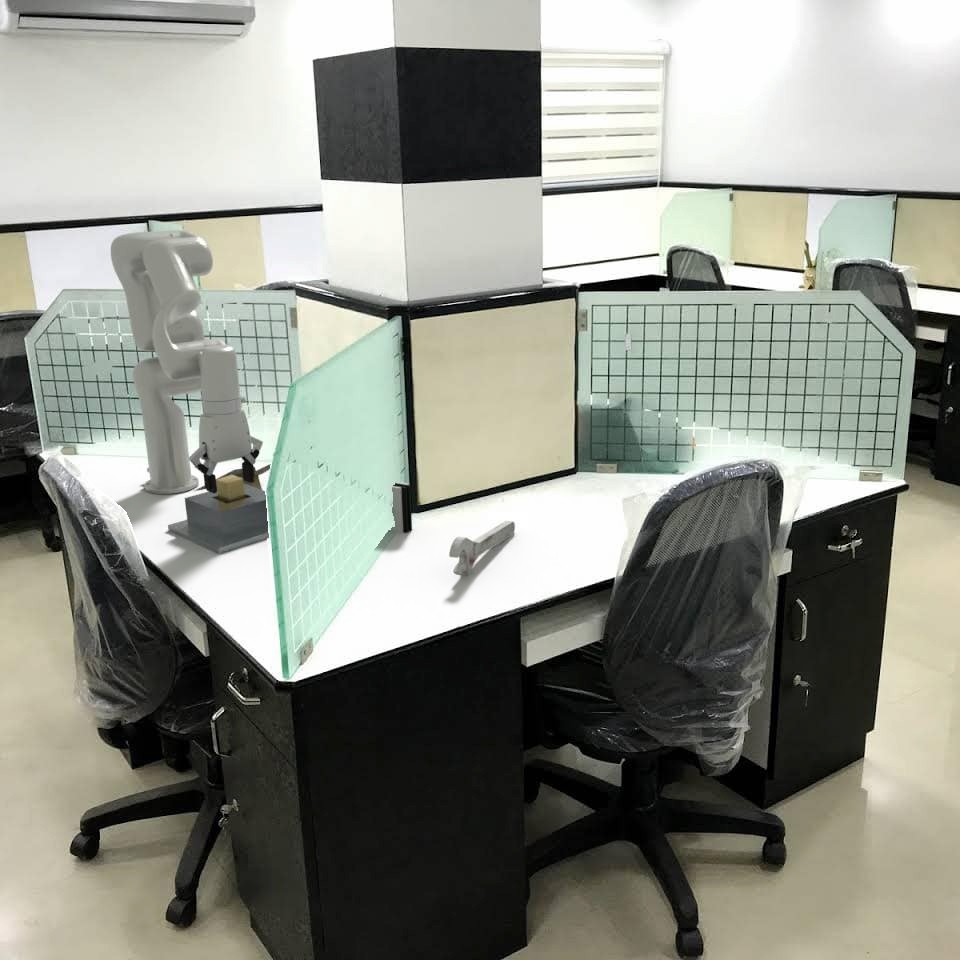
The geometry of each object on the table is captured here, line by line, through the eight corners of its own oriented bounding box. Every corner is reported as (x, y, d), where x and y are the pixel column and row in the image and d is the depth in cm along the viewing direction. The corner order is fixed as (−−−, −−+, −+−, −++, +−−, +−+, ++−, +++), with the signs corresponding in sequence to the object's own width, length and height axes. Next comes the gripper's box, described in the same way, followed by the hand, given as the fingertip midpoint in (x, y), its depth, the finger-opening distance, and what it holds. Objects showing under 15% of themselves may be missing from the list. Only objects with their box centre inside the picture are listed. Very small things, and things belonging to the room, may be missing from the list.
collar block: (168, 530, 213) (164, 498, 211) (248, 506, 227) (245, 476, 224) (219, 553, 200) (215, 520, 198) (300, 527, 213) (298, 495, 211)
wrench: (514, 546, 209) (457, 585, 182) (506, 545, 210) (448, 583, 182) (516, 508, 207) (458, 542, 180) (507, 507, 208) (448, 541, 181)
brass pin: (221, 523, 213) (215, 479, 210) (237, 518, 216) (232, 474, 212) (231, 528, 210) (226, 483, 207) (247, 522, 213) (242, 478, 210)
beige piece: (207, 522, 229) (242, 488, 221) (190, 490, 231) (225, 455, 223) (260, 512, 243) (295, 480, 235) (244, 482, 245) (278, 449, 237)
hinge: (346, 529, 212) (343, 484, 209) (356, 520, 217) (353, 476, 214) (408, 534, 208) (406, 488, 205) (416, 525, 213) (414, 480, 210)
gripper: (248, 396, 213) (255, 473, 219) (174, 411, 202) (184, 492, 207) (268, 401, 208) (275, 480, 214) (194, 417, 197) (203, 500, 202)
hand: (230, 486), depth 210 cm, fingers open, 8 cm apart
